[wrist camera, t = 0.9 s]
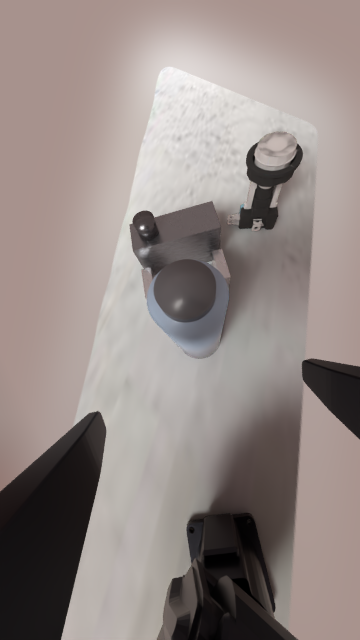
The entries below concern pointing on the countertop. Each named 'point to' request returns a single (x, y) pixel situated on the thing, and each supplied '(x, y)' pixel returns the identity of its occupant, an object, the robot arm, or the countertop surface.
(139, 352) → the countertop surface
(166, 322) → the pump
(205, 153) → the countertop surface
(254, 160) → the push button
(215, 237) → the motor block
